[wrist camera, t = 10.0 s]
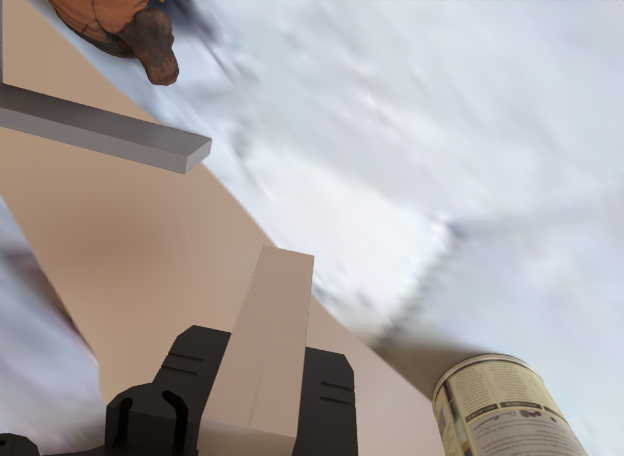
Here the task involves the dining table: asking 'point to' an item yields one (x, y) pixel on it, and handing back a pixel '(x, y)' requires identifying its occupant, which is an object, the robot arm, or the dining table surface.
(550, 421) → the coffee can
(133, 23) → the pottery mug
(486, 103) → the dining table surface
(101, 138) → the box
